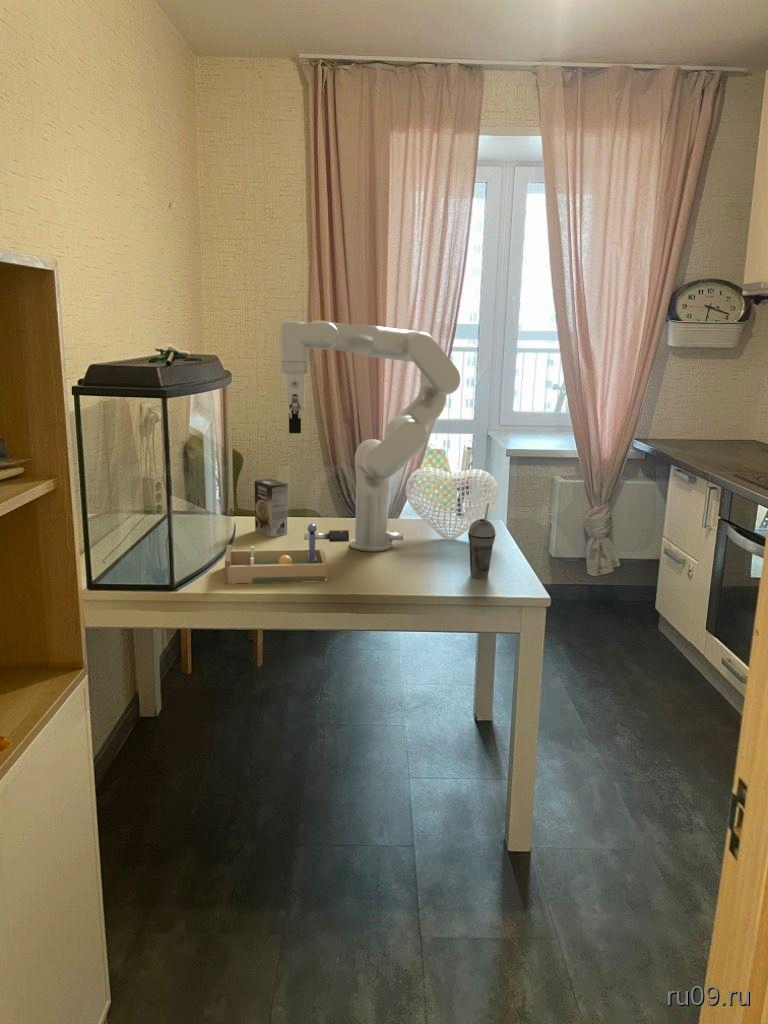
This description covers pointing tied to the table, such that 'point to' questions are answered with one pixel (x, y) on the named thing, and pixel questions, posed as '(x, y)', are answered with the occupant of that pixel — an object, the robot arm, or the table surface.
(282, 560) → the foosball ball
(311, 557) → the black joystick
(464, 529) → the heart
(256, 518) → the coffee box
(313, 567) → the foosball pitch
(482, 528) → the beverage cup
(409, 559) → the table surface
